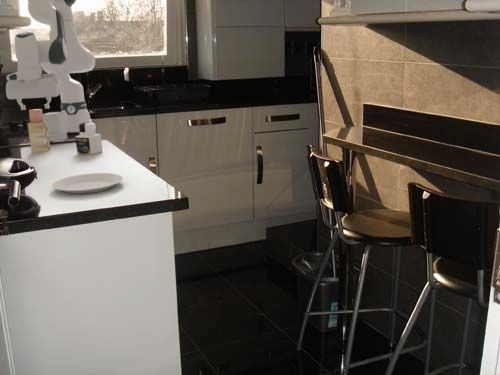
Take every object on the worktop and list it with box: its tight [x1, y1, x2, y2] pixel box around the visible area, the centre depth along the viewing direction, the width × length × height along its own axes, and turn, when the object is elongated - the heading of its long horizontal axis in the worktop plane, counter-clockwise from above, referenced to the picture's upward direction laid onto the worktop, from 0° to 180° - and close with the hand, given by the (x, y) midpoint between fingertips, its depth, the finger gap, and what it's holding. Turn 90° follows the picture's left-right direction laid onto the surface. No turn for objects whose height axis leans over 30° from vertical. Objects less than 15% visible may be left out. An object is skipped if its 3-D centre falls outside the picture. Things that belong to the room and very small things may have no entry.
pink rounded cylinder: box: [28, 108, 44, 123], centre depth 239 cm, size 5×5×5 cm
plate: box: [51, 172, 124, 195], centre depth 179 cm, size 21×21×2 cm
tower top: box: [27, 121, 48, 135], centre depth 240 cm, size 6×6×4 cm
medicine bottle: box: [74, 121, 103, 156], centre depth 232 cm, size 7×7×12 cm
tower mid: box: [28, 131, 49, 144], centre depth 241 cm, size 6×6×4 cm
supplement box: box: [42, 111, 68, 143], centre depth 264 cm, size 7×7×13 cm
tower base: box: [29, 140, 51, 154], centre depth 242 cm, size 6×6×4 cm
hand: (35, 109), depth 239 cm, fingers open, 8 cm apart
